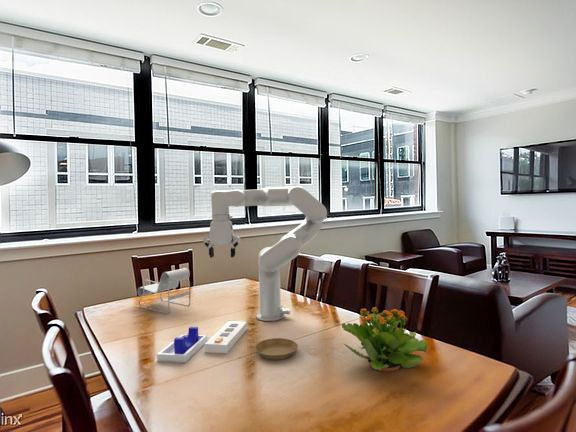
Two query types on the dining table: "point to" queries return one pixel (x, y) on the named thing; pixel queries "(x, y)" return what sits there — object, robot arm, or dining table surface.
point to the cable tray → (170, 355)
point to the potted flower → (386, 341)
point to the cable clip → (186, 341)
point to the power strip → (226, 337)
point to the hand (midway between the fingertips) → (222, 257)
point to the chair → (166, 286)
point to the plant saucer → (276, 348)
